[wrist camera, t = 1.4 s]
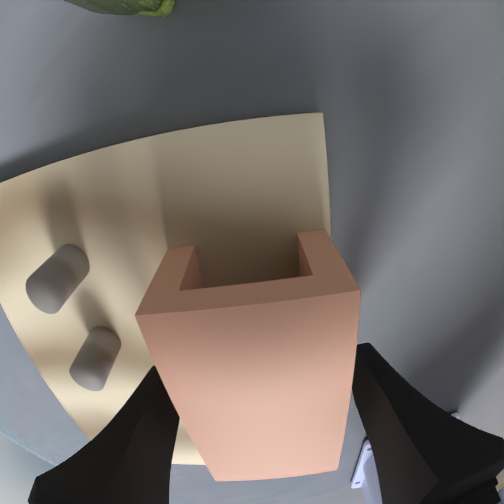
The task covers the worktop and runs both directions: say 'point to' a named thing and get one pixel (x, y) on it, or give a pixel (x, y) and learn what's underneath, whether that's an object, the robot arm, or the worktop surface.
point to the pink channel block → (258, 361)
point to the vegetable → (127, 6)
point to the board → (149, 243)
